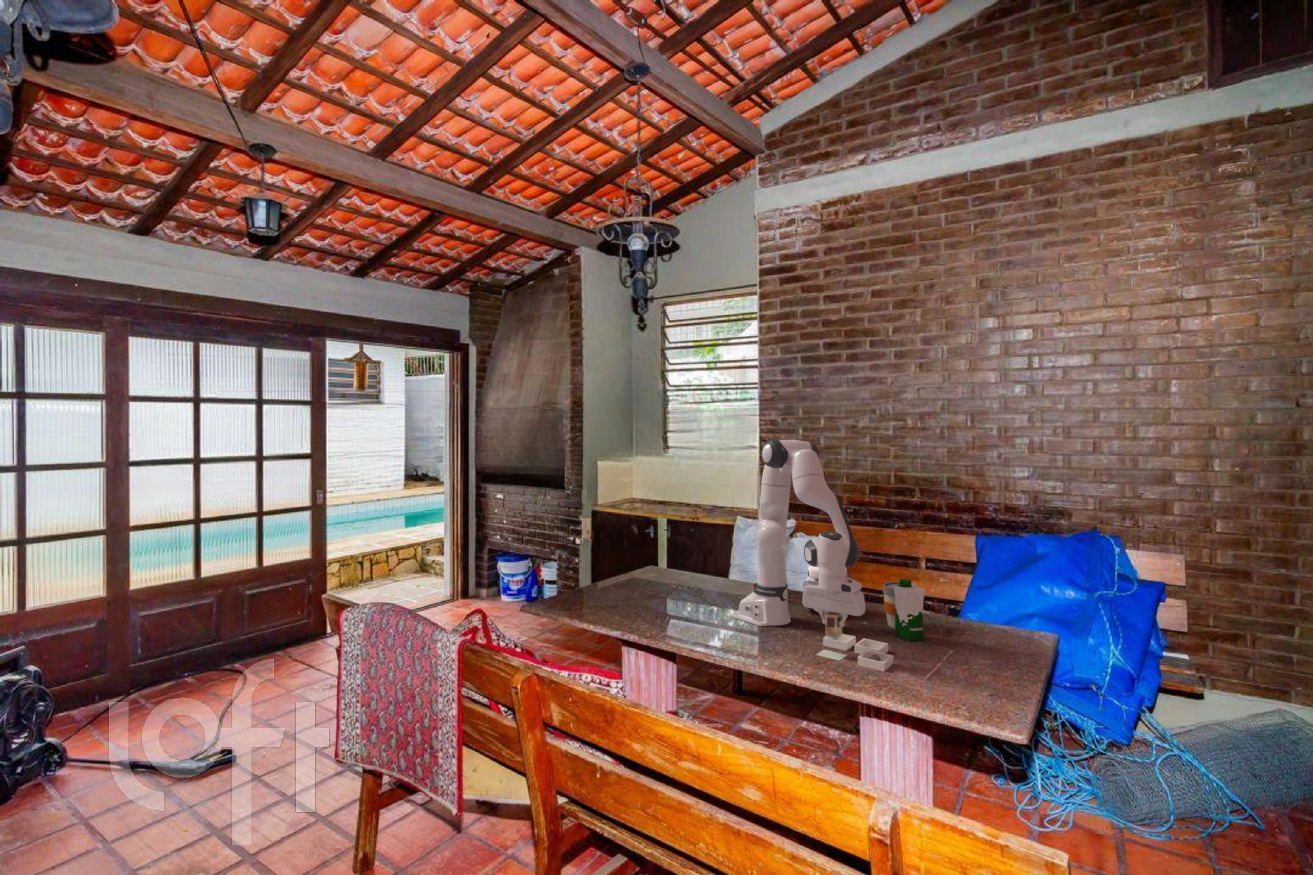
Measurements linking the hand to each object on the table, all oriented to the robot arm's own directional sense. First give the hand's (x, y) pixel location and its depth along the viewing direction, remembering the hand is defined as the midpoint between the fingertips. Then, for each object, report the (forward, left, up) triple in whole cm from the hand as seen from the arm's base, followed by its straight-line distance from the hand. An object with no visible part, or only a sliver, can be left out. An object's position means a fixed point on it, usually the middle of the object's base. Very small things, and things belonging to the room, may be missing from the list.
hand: (833, 624), depth 202 cm
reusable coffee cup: (+6, +46, -11) cm, 47 cm away
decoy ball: (+13, +1, -8) cm, 16 cm away
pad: (-1, 0, -10) cm, 10 cm away
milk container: (-23, +46, -11) cm, 52 cm away
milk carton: (+13, +34, -11) cm, 38 cm away
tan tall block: (0, 0, -3) cm, 3 cm away
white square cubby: (+8, +11, -10) cm, 17 cm away
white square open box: (+13, +1, -10) cm, 17 cm away
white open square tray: (-3, +11, -10) cm, 15 cm away
